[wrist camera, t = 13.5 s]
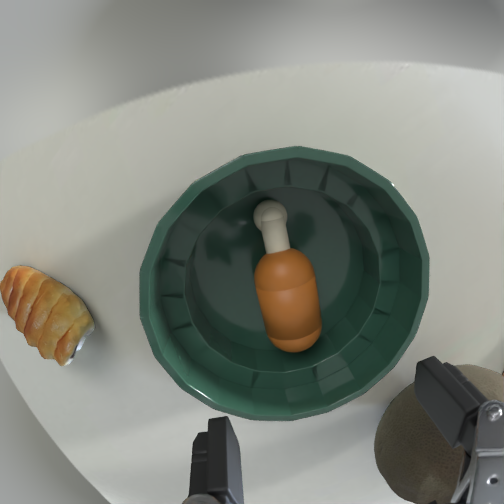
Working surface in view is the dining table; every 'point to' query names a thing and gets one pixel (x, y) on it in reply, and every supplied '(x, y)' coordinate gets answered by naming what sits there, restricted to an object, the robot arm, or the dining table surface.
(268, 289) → the drumstick
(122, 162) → the dining table surface
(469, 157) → the dining table surface
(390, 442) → the grey clay lump
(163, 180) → the dining table surface
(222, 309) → the green faceted bowl
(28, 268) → the pastry
